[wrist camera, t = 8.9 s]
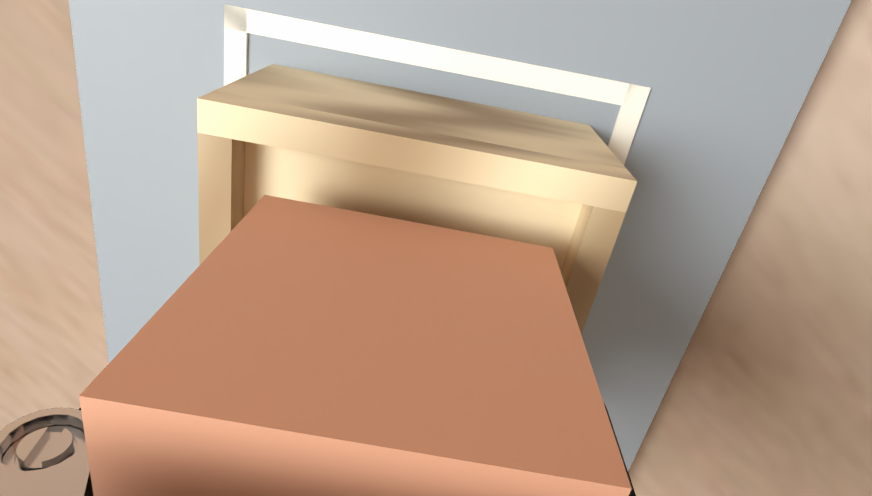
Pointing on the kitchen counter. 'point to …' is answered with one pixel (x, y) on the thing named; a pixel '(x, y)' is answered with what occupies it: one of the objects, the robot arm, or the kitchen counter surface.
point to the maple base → (411, 166)
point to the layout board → (484, 84)
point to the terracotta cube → (355, 370)
